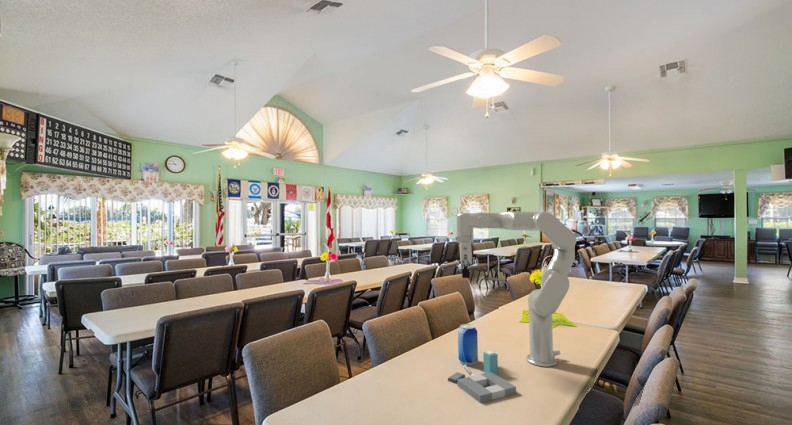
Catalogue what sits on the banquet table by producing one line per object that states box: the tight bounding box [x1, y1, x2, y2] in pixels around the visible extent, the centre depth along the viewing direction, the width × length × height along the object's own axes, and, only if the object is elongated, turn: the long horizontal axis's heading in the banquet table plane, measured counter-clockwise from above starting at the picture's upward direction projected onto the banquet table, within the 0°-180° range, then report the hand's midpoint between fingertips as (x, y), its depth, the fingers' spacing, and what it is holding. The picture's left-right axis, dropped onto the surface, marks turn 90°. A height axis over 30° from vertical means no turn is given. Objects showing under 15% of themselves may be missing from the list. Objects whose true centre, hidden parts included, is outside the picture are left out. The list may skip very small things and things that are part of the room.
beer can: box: [457, 323, 479, 366], centre depth 157 cm, size 8×8×16 cm
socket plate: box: [456, 372, 517, 403], centre depth 131 cm, size 16×14×2 cm
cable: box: [462, 364, 476, 376], centre depth 146 cm, size 11×1×1 cm, turn 9°
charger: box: [483, 350, 499, 375], centre depth 146 cm, size 4×4×8 cm
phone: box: [447, 372, 466, 384], centre depth 140 cm, size 7×4×1 cm, turn 139°
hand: (465, 276), depth 164 cm, fingers open, 9 cm apart
